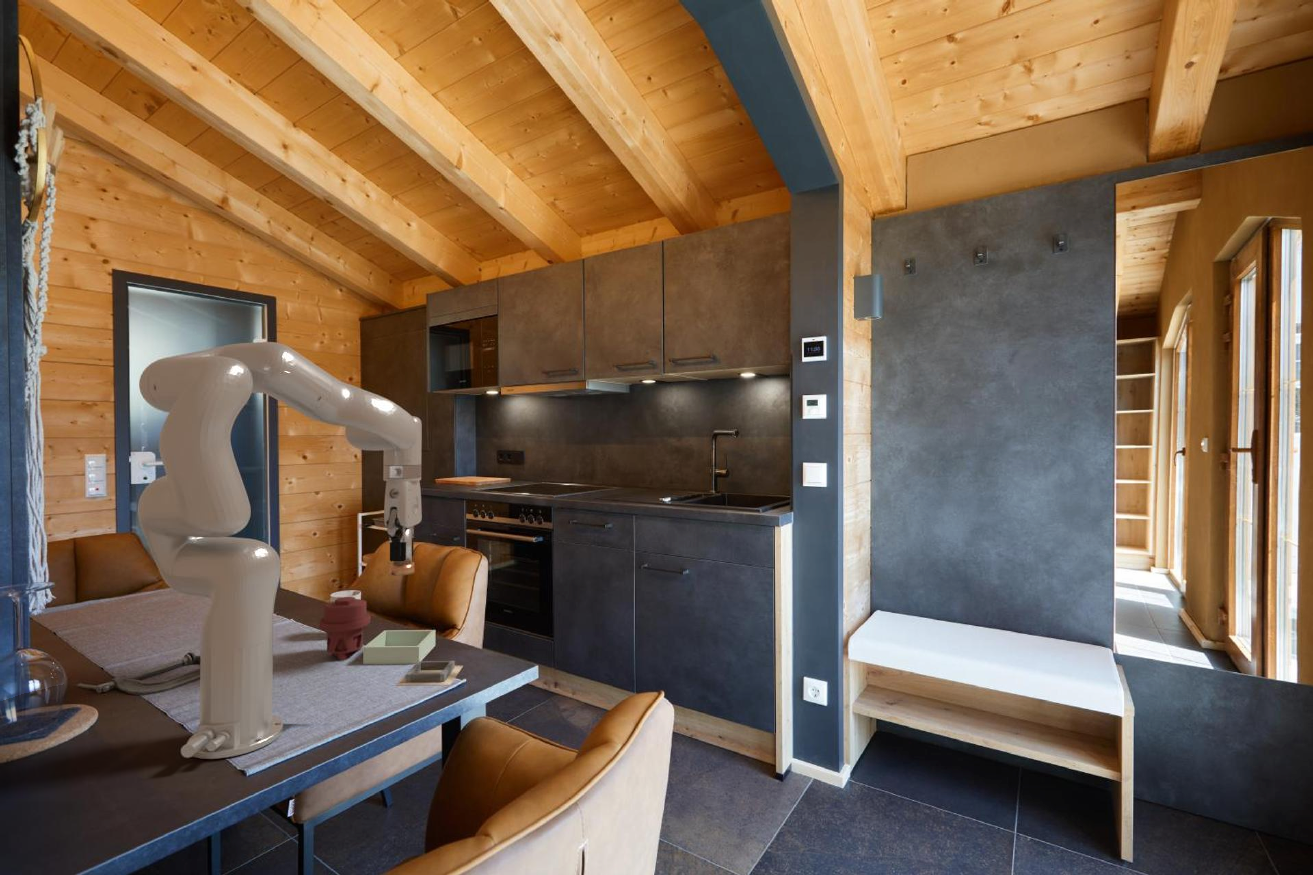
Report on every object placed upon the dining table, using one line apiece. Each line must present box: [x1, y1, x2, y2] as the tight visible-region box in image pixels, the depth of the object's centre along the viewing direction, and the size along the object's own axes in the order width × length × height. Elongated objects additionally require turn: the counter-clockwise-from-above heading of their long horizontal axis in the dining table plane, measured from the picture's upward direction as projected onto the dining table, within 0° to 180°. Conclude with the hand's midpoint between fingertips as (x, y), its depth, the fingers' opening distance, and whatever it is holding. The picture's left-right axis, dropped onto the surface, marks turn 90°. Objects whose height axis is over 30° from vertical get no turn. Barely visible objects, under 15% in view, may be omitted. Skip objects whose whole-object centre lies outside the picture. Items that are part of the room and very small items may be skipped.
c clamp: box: [76, 651, 200, 696], centre depth 124 cm, size 20×17×3 cm
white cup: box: [330, 589, 362, 602], centre depth 150 cm, size 7×7×10 cm
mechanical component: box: [318, 597, 371, 661], centre depth 136 cm, size 12×10×10 cm
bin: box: [362, 629, 437, 665], centre depth 134 cm, size 11×11×5 cm
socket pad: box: [395, 660, 464, 687], centre depth 122 cm, size 10×10×3 cm
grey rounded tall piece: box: [389, 524, 415, 577], centre depth 134 cm, size 5×5×13 cm
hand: (401, 557), depth 134 cm, fingers closed on grey rounded tall piece, 3 cm apart
